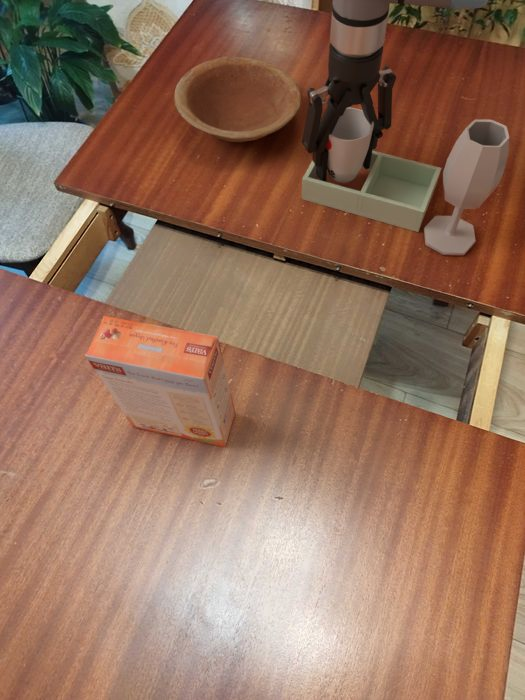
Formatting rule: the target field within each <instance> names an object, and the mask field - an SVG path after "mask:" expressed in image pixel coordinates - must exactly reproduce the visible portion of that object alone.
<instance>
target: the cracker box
mask: <svg viewBox="0 0 525 700" xmlns="http://www.w3.org/2000/svg"><path fill="white" fill-rule="evenodd" d="M85 357H86V359H87V361H88V362H89V364H90V365H91V367H92V368H93V370H94V371H95V373H96V374H97V376H98V377H99V379H100V380H101V382H102V384H103V385H104V386H105V389H106V390H107V391H108V392H109V394H110V395H111V397H112V398H113V400H114V401H115V403H116V404H117V406H118V407H119V409H120V410H121V412H122V413H123V415H124V416H125V417H126V419H127V421H128V422H129V424H130V425H131V427H132V428H136V429H139V430H144V431H149V432H153V433H158V434H161V435H162V434H163V435H167V436H172V437H177V438H181V439H185V440H190V441H195V442H199V443H203V444H208V445H213V446H217V447H220V448H221V447H222V448H225V447H226V446H227V442H228V439H229V435H230V433H231V429H232V426H233V422H234V418H235V416H236V408H235V405H234V400H233V395H232V392H231V391H232V390H231V387H230V382H229V379H228V373H227V370H226V364H225V361H224V358H223V357H224V356H223V353H222V349H221V344H220V340H219V337H218V336H217V335H210V334H205V333H201V332H200V333H199V332H194V331H189V330H184V329H179V328H178V329H177V328H173V327H166V326H163V325H162V326H161V325H157V324H150V323H146V322H141V321H135V320H131V319H126V318H119V317H115V316H109V315H104V316H102V319H101V322H100V324H99V326H98V327H97V330H96V332H95V334H94V337H93V339H92V341H91V343H90V346H89V347H88V350H87V351H86V353H85Z"/></svg>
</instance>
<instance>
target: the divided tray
mask: <svg viewBox="0 0 525 700" xmlns="http://www.w3.org/2000/svg"><path fill="white" fill-rule="evenodd" d="M441 171H442V167H440V166H436V165H432V164H428V163H423V162H421V161H416V160H412V159H409V158H404V157H400V156H396V155H392V154H388V153H384V152H380V151H377V150H374V149H373V150H372V156H371V162H370V168H369V169H365V168H364V167H363V165H362V167H361V169H360V170H359V172H358V174H357V176H356V177H355V178H354V179H353V180H352V181H349V182H337V181H335V180H333V179H332V178H331V177H330V176H329V173H328V170H327V177H326V182H324V181H321V180H320V179H319V177H318V176H317V174H316V166H315V164H314V162H313V161H312V160H311V163H310V164H309V166H308V167H307V170H306V172H305V173H304V174H303V176H302V179H301V182H302V183H301V200H302V201H307V202H309V203H313V204H316V205H321V206H324V207H328V208H331V209H335V210H338V211H343V212H346V213H349V214H353V215H356V216H359V217H363V218H366V219H370V220H373V221H377V222H381V223H384V224H386V225H387V224H388V225H392V226H395V227H398V228H402V229H405V230H408V231H412V232H416V233H419V232H420V229H421V227H422V224H423V221H424V218H425V216H426V214H427V211H428V208H429V206H430V203H431V201H432V198H433V196H434V193H435V191H436V188H437V186H438V182H439V178H440V175H441Z"/></svg>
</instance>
